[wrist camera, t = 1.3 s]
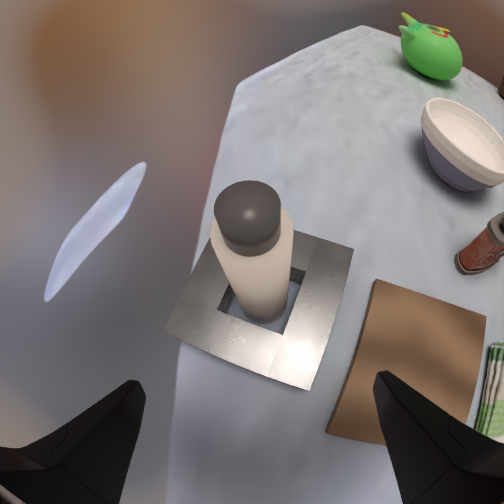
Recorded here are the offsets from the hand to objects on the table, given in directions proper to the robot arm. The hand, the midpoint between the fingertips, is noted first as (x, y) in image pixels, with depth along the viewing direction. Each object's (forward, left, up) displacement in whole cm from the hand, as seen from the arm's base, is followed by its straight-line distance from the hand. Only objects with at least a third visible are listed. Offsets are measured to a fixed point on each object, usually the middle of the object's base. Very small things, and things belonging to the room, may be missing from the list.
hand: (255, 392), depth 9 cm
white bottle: (+7, +3, -13) cm, 15 cm away
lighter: (+19, -19, -13) cm, 30 cm away
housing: (+7, +3, -13) cm, 15 cm away
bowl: (+33, -16, -13) cm, 39 cm away
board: (+5, -13, -13) cm, 19 cm away
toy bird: (+70, -15, -13) cm, 73 cm away
